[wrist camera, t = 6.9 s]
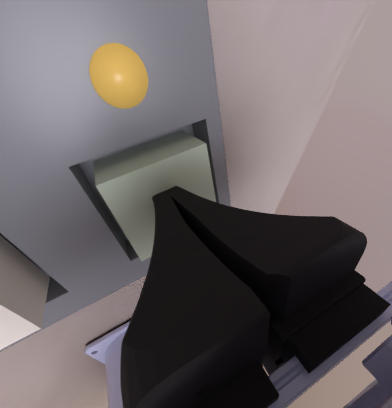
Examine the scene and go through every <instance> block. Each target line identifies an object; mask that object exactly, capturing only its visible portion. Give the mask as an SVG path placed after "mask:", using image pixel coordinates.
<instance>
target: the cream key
mask: <svg viewBox="0 0 392 408" xmlns="http://www.w3.org/2000/svg"><path fill="white" fill-rule="evenodd" d="M49 280H50V277H49V276H48V275H47V274H45V273H44V272H43V271H42V270H41V269H40V268H38V267H37V266H36V265H35V264H34V263H32V262H31V261H30V260H29V259H28V258H27V257H25V256H24V255H23V254H22V253H21V252H19V251H18V250H17V249H16V248H15V247H14V246H12V245H11V244H10V243H9V242H8V241H7V240H5V239H4V238H3V237H2V236H1V235H0V350H1V349H3V348H5V347H7V346H9V345H11V344H13V343H15V342H16V341H18V340H20V339H22V338H24V337H26V336H28V335H30V334H32V333H34V332H36V331H38V330H39V329H41V327H42V321H43V315H44V310H45V304H46V298H47V292H48V286H49Z"/></svg>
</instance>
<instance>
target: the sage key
mask: <svg viewBox="0 0 392 408" xmlns="http://www.w3.org/2000/svg"><path fill="white" fill-rule="evenodd" d="M93 166H94V175H95V185H96V187H97V189H98V191H99V192H100V194H101V196H102V197H103V199H104V201H105V202H106V204H107V205H108V207H109V209H110V210H111V212H112V214H113V215H114V217H115V219H116V220H117V222H118V224H119V225H120V227H121V228H122V230H123V232H124V233H125V235H126V237H127V238H128V240H129V242H130V243H131V245H132V247H133V248H134V250H135V252H136V253H137V255H138V256H139V258H140V260H141V261H144V260H146V259H148V258H150V257H151V255H152V250H153V243H154V234H155V209H154V203H153V200H152V197H153V196H154V195H156V194H158V193H161V192H163V191H165V190H168V189H170V188H172V187H175V186H178V187H181V188H183V189H185V190H187V191H189V192H191V193H194V194H196V195H198V196H201V197H203V198H206V199H208V200H211V201H214V202H216V198H215V192H214V186H213V180H212V174H211V168H210V163H209V157H208V151H207V145H206V143H205V142H203V141H201V140H199V139H197V138H196V137H194V136H192V135H190V134H188V133H186V132H185V131H183V130H180V131H177V132H174V133H171V134H168V135H166V136H163V137H160V138H157V139H154V140H151V141H149V142H146V143H143V144H140V145H137V146H135V147H132V148H129V149H126V150H123V151H120V152H118V153H115V154H112V155H109V156H106V157H104V158H101V159H98V160H95V161H93Z"/></svg>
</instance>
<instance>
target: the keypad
mask: <svg viewBox="0 0 392 408" xmlns="http://www.w3.org/2000/svg"><path fill="white" fill-rule="evenodd" d="M180 130H183V131H185V132H186V133H188V134H190V135H192V136H194V137H196V138H197V139H199V140H201V141H203V142H205V143H206V145H207V151H208V157H209V163H210V168H211V174H212V180H213V186H214V192H215V198H216V202H217V203H220V204H223V205H227V206H230V207H231V205H230V196H229V188H228V179H227V170H226V162H225V153H224V144H223V136H222V127H221V118H220V110H219V101H218V92H217V83H216V75H215V66H214V57H213V49H212V40H211V31H210V23H209V14H208V5H207V0H0V235H1V236H2V237H3V238H4V239H5V240H7V241H8V242H9V243H10V244H11V245H12V246H14V247H15V248H16V249H17V250H18V251H19V252H21V253H22V254H23V255H24V256H25V257H27V258H28V259H29V260H30V261H31V262H32V263H34V264H35V265H36V266H37V267H38V268H40V269H41V270H42V271H43V272H44V273H45V274H47V275H48V276H49V277H50V280H49V286H48V292H47V298H46V304H45V310H44V315H43V321H42V327H41V329H39V330H38V331H40V330H42V329H44V328H46V327H48V326H50V325H52V324H54V323H56V322H57V321H59V320H61V319H63V318H65V317H67V316H69V315H71V314H73V313H75V312H77V311H78V310H80V309H82V308H84V307H86V306H88V305H90V304H92V303H94V302H96V301H98V300H99V299H101V298H103V297H105V296H107V295H109V294H111V293H113V292H115V291H117V290H119V289H120V288H122V287H124V286H126V285H128V284H130V283H132V282H134V281H136V280H138V279H140V278H141V277H143V276H145V275H147V272H148V268H149V264H150V260H151V257H150V258H148V259H146V260H144V261H141V260H140V258H139V256H138V255H137V253H136V252H135V250H134V248H133V247H132V245H131V243H130V242H129V240H128V238H127V237H126V235H125V233H124V232H123V230H122V228H121V227H120V225H119V224H118V222H117V220H116V219H115V217H114V215H113V214H112V212H111V210H110V209H109V207H108V205H107V204H106V202H105V201H104V199H103V197H102V196H101V194H100V192H99V191H98V189H97V187H96V185H95V175H94V166H93V161H95V160H98V159H101V158H104V157H106V156H109V155H112V154H115V153H118V152H120V151H123V150H126V149H129V148H132V147H135V146H137V145H140V144H143V143H146V142H149V141H151V140H154V139H157V138H160V137H163V136H166V135H168V134H171V133H174V132H177V131H180ZM38 331H36V332H38ZM36 332H34V333H32V334H30V335H28V336H26V337H24V338H22V339H20V340H18V341H16V342H15V343H17V342H19V341H21V340H23V339H25V338H27V337H29V336H31V335H33V334H35V333H36ZM15 343H13V344H11V345H9V346H7V347H5V348H3V349H1V350H0V351H2V350H4V349H6V348H8V347H10V346H12V345H14V344H15Z"/></svg>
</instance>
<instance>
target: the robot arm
mask: <svg viewBox="0 0 392 408" xmlns="http://www.w3.org/2000/svg"><path fill="white" fill-rule="evenodd" d="M152 200H153V203H154V209H155V234H154V243H153V250H152V255H151V260H150V264H149V268H148V272H147V276H146V279H145V282H144V285H143V288H142V291H141V294H140V298H139V301H138V303H137V306H136V309H135V311H134V313H133V316H132V318H131V321H129V322H127V323H126V324H124V325H122V326H120V327H119V328H117V329H115V330H113V331H112V332H110V333H108V334H106V335H105V336H103V337H101V338H99V339H98V340H96V341H94V342H92V343H91V344H89V345H87V346H86V348H85V353H86V354H87V355H89V356H91V357H93V358H94V359H96V360H98V361H99V362H101V363H103V364H105V366H106V379H107V393H108V406H109V408H287V407H288V406H289V405H290V404H291V403H293V402H294V401H295V400H296V399H297V398H298V397H300V396H301V395H302V394H303V393H304V392H306V391H307V390H308V389H309V388H310V387H312V386H313V385H314V384H315V383H316V382H318V381H319V380H320V379H321V378H322V377H324V376H325V375H326V374H327V373H328V372H329V371H331V370H332V369H333V368H334V367H335V366H337V365H338V364H339V363H340V362H341V361H343V360H344V359H345V358H346V357H347V356H348V355H350V354H351V353H352V352H353V351H354V350H356V349H357V348H358V347H359V346H360V345H362V344H363V343H364V342H365V341H366V340H367V339H369V338H370V337H371V336H372V335H373V334H375V332H377V331H378V330H379V329H381V328H382V327H383V326H384V325H385V324H386V323H388V322H389V321H390V320H391V319H392V281H391V282H390V283H389V284H387V285H386V286H385V287H383V288H382V289H381V290H380V291H378V292H377V293H375V292H374V291H372V290H371V289H370V288H368V287H367V286H366V285H364V284H363V283H364V282H365V278H364V277H363V276H362V275H360V274H359V273H358V272H356V271H355V268H356V266H357V264H358V262H359V260H360V258H361V256H362V255H363V253H364V250H365V248H366V244H367V239H366V236H365V235H364V233H362V232H360V231H358V230H356V229H355V228H353V227H351V226H349V225H348V224H346V223H344V222H342V221H341V220H339V219H337V218H335V217H315V216H288V215H275V214H267V213H260V212H254V211H248V210H243V209H239V208H234V207H230V206H227V205H223V204H220V203H217V202H214V201H211V200H208V199H206V198H203V197H201V196H198V195H196V194H194V193H191V192H189V191H187V190H185V189H183V188H181V187H178V186H175V187H172V188H170V189H168V190H165V191H163V192H161V193H158V194H156V195H154V196H153V197H152ZM391 324H392V320H391ZM362 363H363V365H364V367H365V368H366V369H367V370H368V371H369V372H370V373H371V374H372V375H373V376H374V377H375V378H376V379H375V380H374V381H373V382H372V383H371V384H369V385H368V386H367V387H366V388H365V389H364V390H363V391H362V392H360V393H359V394H358V395H357V396H356V397H355V398H353V399H352V400H351V401H350V402H349V403H348V404H347V405H346V406H344V407H343V408H392V335H391V336H390V337H388V338H387V339H386V340H385V341H384V342H383V343H382V344H381V345H380V346H378V347H377V348H376V349H375V350H374V351H373V352H372V353H371V354H370V355H368V356H367V358H365V359H364V360H363V361H362ZM263 365H264V367H265V369H266V371H267V372H268V374H269V376H268V375H267V374H266V372H265V370H264V369H263Z"/></svg>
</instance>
